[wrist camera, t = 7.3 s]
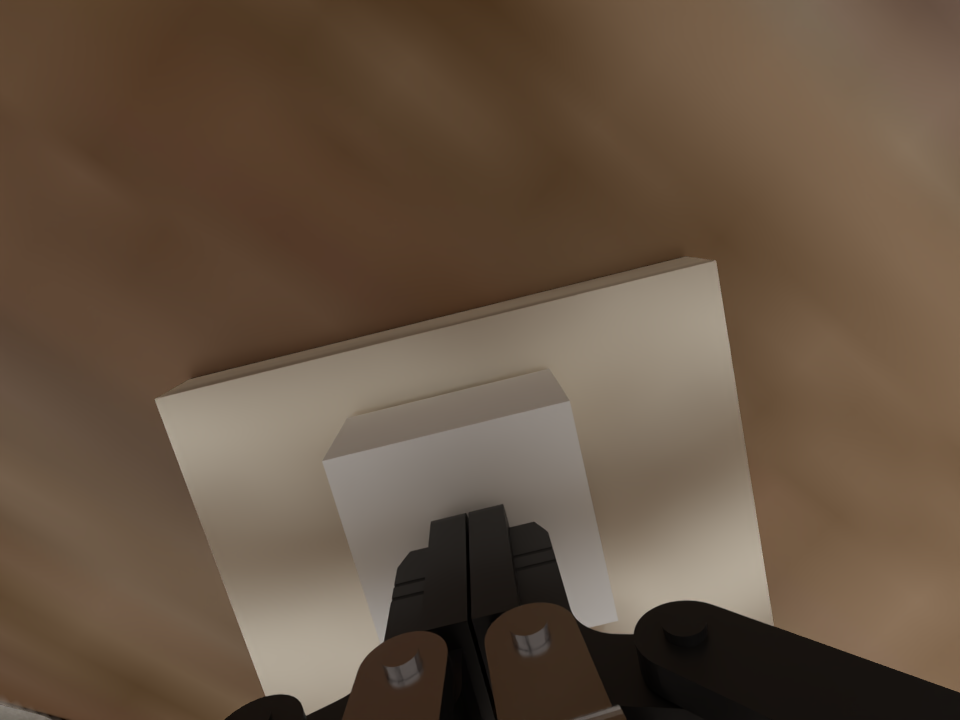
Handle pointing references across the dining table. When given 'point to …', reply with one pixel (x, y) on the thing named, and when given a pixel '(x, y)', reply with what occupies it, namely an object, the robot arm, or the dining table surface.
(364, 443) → the light grey square block
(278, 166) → the dining table surface
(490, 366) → the board
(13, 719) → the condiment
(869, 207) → the dining table surface
